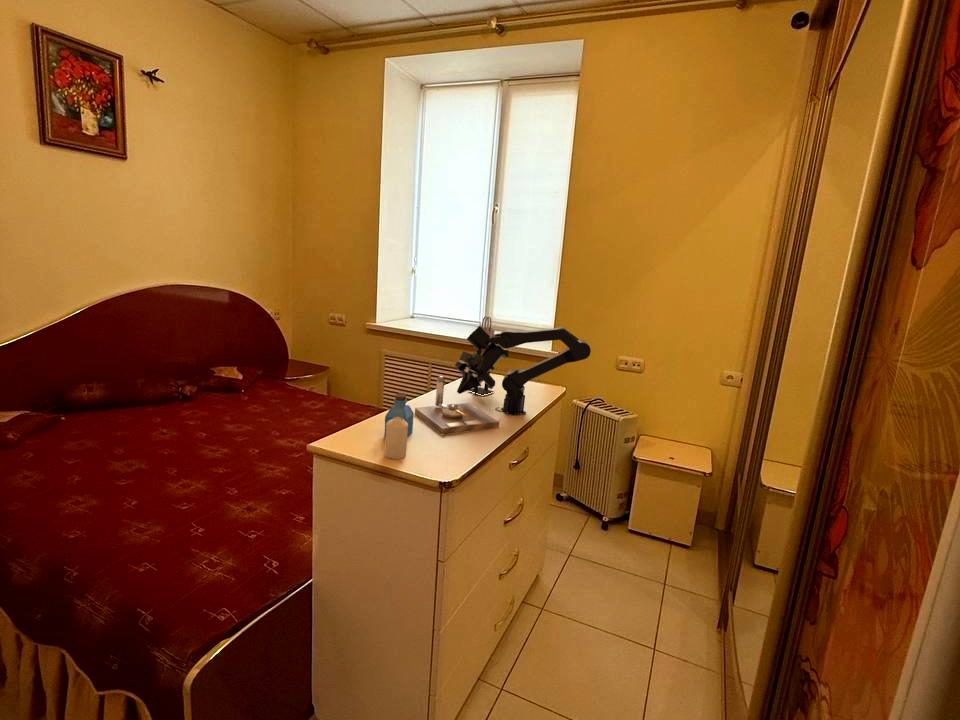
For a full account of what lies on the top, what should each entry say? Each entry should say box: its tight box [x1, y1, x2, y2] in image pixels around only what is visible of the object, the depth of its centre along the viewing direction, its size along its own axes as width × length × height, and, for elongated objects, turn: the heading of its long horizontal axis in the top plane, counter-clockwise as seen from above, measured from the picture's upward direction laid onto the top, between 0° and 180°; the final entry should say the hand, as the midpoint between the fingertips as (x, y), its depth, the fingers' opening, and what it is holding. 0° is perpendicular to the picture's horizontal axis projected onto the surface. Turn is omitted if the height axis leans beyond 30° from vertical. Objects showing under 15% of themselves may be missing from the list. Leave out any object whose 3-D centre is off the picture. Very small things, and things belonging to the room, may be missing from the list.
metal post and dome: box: [434, 375, 467, 418], centre depth 156 cm, size 6×18×10 cm, turn 33°
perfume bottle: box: [383, 393, 415, 439], centre depth 141 cm, size 6×6×12 cm
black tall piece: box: [467, 315, 498, 395], centre depth 190 cm, size 10×8×30 cm
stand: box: [414, 402, 500, 436], centre depth 159 cm, size 20×20×2 cm
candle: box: [384, 417, 408, 460], centre depth 128 cm, size 6×6×10 cm
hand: (458, 392), depth 166 cm, fingers closed
